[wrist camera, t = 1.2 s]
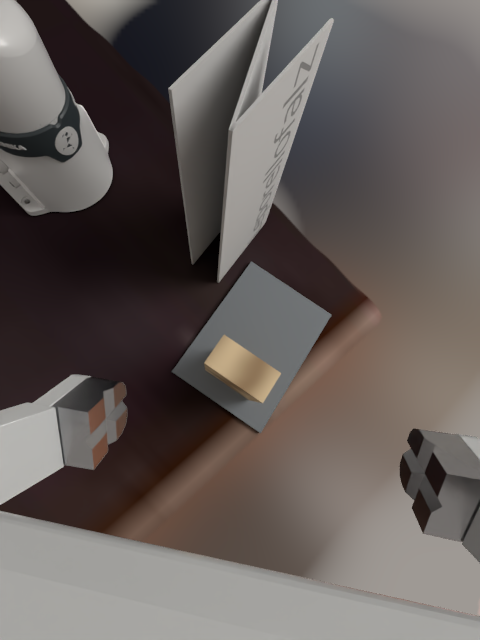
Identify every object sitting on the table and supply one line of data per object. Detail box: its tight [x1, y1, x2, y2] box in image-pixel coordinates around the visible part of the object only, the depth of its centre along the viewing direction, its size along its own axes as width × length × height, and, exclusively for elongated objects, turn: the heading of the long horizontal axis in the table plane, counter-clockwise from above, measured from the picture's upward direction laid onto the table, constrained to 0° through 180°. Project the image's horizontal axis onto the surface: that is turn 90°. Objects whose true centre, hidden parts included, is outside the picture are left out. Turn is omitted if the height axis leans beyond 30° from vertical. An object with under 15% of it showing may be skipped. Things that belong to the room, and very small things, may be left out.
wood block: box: [204, 335, 281, 403], centre depth 40 cm, size 8×4×12 cm, turn 56°
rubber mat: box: [172, 262, 331, 433], centre depth 48 cm, size 16×22×1 cm
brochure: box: [168, 0, 334, 283], centre depth 37 cm, size 14×6×30 cm, turn 145°
